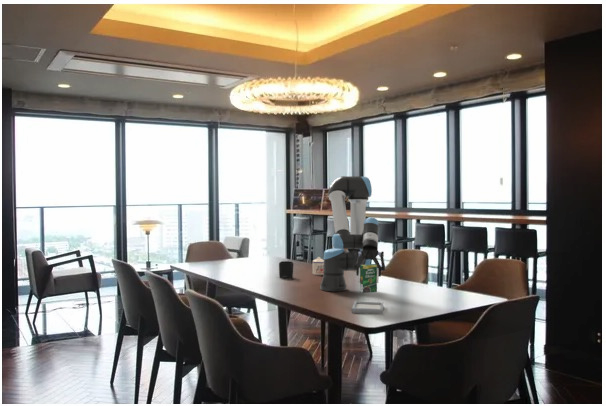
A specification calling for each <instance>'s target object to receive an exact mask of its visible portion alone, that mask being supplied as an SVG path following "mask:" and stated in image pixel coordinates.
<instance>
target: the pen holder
mask: <svg viewBox="0 0 606 406" xmlns="http://www.w3.org/2000/svg"><path fill="white" fill-rule="evenodd" d="M278 273H279V278H280V279H293V277H294V262H293V261H289V260H288V261H287V260H285V261H280V262H279V263H278Z"/></svg>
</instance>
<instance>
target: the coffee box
mask: <svg viewBox="0 0 606 406" xmlns="http://www.w3.org/2000/svg"><path fill="white" fill-rule="evenodd" d="M359 285H360V286H359V290H360V291H359V292H360V293H361V294H370V293H378V283H377V265H376V264H375V263H370V265H360V282H359Z"/></svg>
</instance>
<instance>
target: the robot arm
mask: <svg viewBox="0 0 606 406" xmlns="http://www.w3.org/2000/svg"><path fill="white" fill-rule="evenodd" d="M372 191H373V190H372V182H371V180H370V178H369V177H367V176H361V175H360V176H358V175H357V176H355V175H354V176H353V175H352V176H350V175H349V176H346V175H343V176H338V177H337V178H335V179H334V180H333V181H332V183H330V186H329V188H328V194H327V195H328V199H329V201H330V203H331V210H332V217H333V218H332V219H333V226H334V234H333V235H332V237H331V241H332V243H331V244H332V248H329V249H326V250H324V252H323V258H322V259H323V260H324V275H322V279H321V282H320V285H319V286H320V288H319V289H320V290H322V291H324V292H325V291H326V292H344V291H347V290H348V289H347V288H348V287H347V286H348V285H347V282H346V279H345V276H344V275H345V272H355V273H356V274H355V275H356V276H357V277H358V278H357V279H358V283H360V265H370V264H371V261H373V263H374V264H376V265H377V284H379V277H381V276H382V271H383V272H384V271H386V265H385V258H384V256H385V253H384V251H381V252H380V251H379V250H378V249H379V248H378V247H379V228H380V227H379V220H378V219H377V218H375V217H366V212H367V211H366V206H367V205H366V204H367V202H368V201H369V198H371V197H372ZM346 197H347V200H348V201H349V203H350V226H349V221H348V214H347V207H346V201H345V199H346ZM378 256H379V258H380V262H379V260H378V258H377V257H378ZM380 263H381V264H380Z"/></svg>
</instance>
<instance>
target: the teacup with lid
mask: <svg viewBox="0 0 606 406" xmlns="http://www.w3.org/2000/svg"><path fill="white" fill-rule="evenodd" d="M312 275H314V276H323V275H324V259H323V258H321V257H320V256H317V258H315V259H313V260H312Z"/></svg>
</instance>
